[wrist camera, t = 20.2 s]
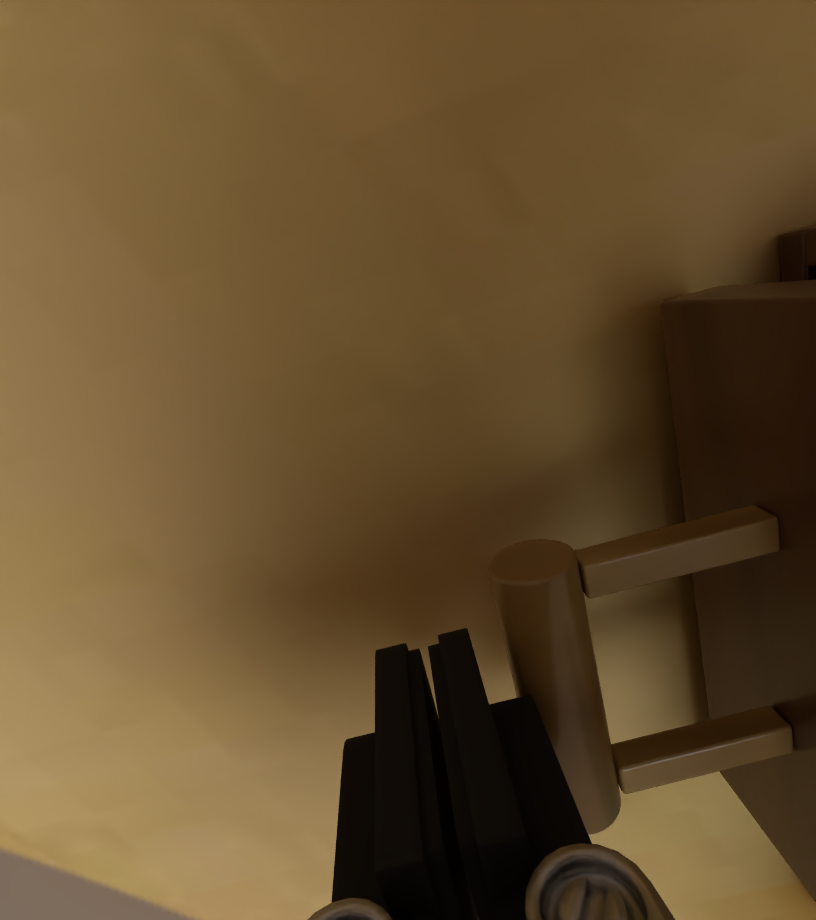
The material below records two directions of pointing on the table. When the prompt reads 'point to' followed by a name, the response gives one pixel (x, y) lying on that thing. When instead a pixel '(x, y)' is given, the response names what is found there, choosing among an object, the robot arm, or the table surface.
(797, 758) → the drawer
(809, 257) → the cabinet
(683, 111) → the table surface
